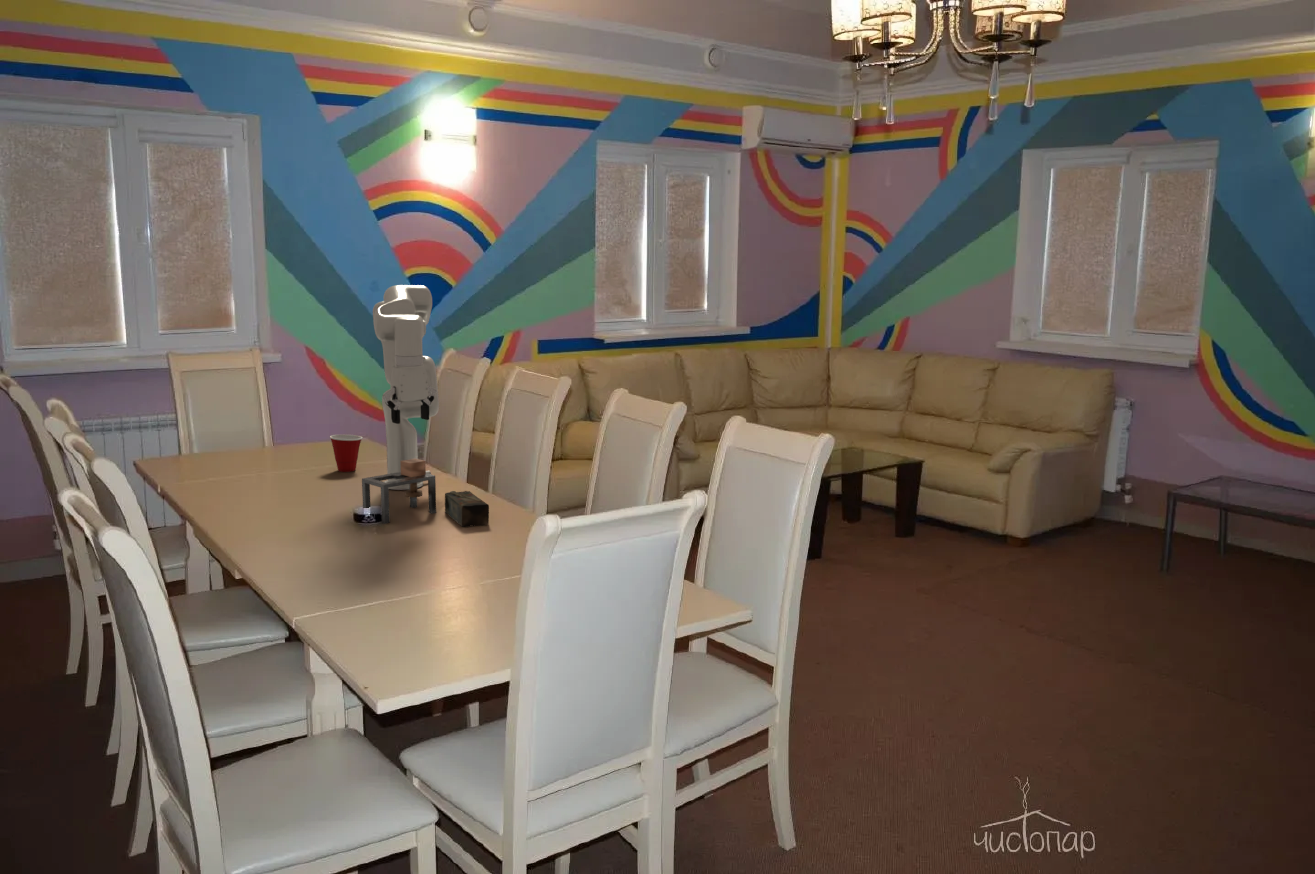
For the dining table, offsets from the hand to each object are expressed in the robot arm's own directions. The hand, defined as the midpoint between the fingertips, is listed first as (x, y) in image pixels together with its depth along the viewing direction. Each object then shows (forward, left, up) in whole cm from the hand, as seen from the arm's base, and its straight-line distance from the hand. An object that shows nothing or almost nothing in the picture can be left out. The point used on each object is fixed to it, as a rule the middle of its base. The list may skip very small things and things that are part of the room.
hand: (410, 421), depth 289 cm
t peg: (0, +1, -22) cm, 22 cm away
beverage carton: (-6, +17, -27) cm, 32 cm away
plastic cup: (-16, -63, -27) cm, 70 cm away
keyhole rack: (+5, +1, -26) cm, 27 cm away
